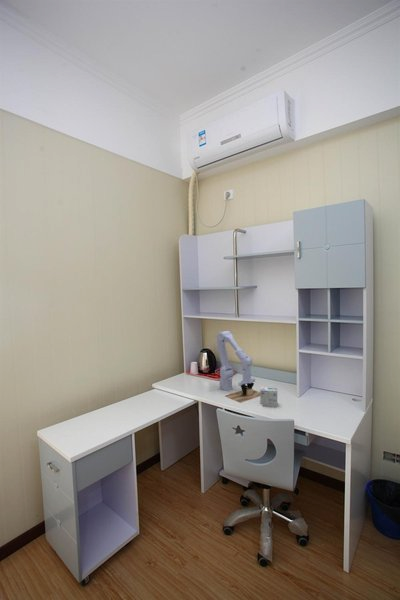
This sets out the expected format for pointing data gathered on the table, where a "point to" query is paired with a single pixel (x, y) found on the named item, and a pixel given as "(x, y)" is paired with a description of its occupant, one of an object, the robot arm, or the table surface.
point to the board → (242, 396)
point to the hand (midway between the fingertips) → (247, 393)
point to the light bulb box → (268, 396)
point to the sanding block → (248, 391)
